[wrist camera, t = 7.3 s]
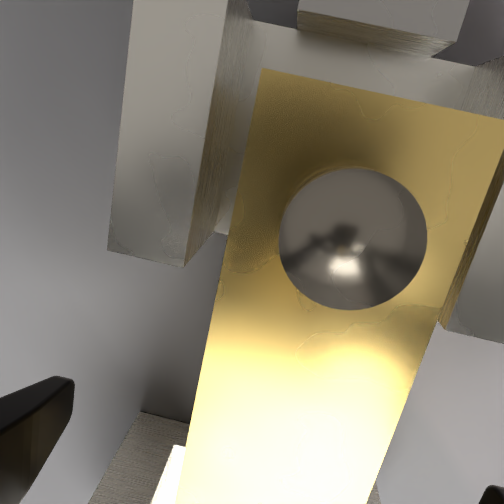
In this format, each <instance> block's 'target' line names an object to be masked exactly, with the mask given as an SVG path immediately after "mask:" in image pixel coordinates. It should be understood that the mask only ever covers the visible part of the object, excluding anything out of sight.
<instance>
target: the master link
mask: <svg viewBox="0 0 504 504" xmlns="http://www.w3.org/2000/svg"><path fill="white" fill-rule="evenodd" d="M503 150H504V120H502V119H497V118H493V117H488V116H484V115H479V114H474V113H470V112H465V111H460V110H456V109H451V108H447V107H442V106H437V105H433V104H428V103H423V102H419V101H414V100H410V99H405V98H400V97H396V96H391V95H386V94H382V93H377V92H372V91H368V90H363V89H359V88H354V87H349V86H345V85H340V84H335V83H331V82H326V81H322V80H317V79H312V78H308V77H303V76H298V75H294V74H289V73H284V72H280V71H275V70H271V69H266V68H262V69H261V74H260V79H259V84H258V89H257V94H256V99H255V104H254V109H253V114H252V119H251V124H250V129H249V134H248V139H247V144H246V149H245V154H244V159H243V164H242V169H241V174H240V179H239V184H238V189H237V194H236V199H235V204H234V209H233V214H232V219H231V224H230V229H229V234H228V238H227V243H226V248H225V253H224V258H223V263H222V268H221V273H220V278H219V283H218V288H217V293H216V298H215V303H214V308H213V313H212V318H211V323H210V328H209V333H208V338H207V343H206V348H205V353H204V358H203V363H202V368H201V373H200V378H199V383H198V388H197V393H196V398H195V403H194V408H193V413H192V418H191V423H190V428H189V433H188V438H187V443H186V448H185V453H184V458H183V463H182V468H181V473H180V478H179V483H178V488H177V493H176V498H175V503H174V504H366V502H367V500H368V497H369V494H370V492H371V489H372V487H373V484H374V482H375V479H376V476H377V474H378V471H379V469H380V466H381V464H382V461H383V458H384V456H385V453H386V451H387V448H388V446H389V443H390V440H391V438H392V435H393V433H394V430H395V428H396V425H397V422H398V420H399V417H400V415H401V412H402V410H403V407H404V404H405V402H406V399H407V397H408V394H409V392H410V389H411V386H412V384H413V381H414V379H415V376H416V373H417V371H418V368H419V366H420V363H421V361H422V358H423V355H424V353H425V350H426V348H427V345H428V343H429V340H430V337H431V335H432V332H433V330H434V327H435V325H436V322H437V319H438V317H439V314H440V312H441V309H442V307H443V304H444V301H445V299H446V296H447V294H448V291H449V289H450V286H451V283H452V281H453V278H454V276H455V273H456V271H457V268H458V265H459V263H460V260H461V258H462V255H463V252H464V250H465V247H466V245H467V242H468V240H469V237H470V234H471V232H472V229H473V227H474V224H475V222H476V219H477V216H478V214H479V211H480V209H481V206H482V204H483V201H484V198H485V196H486V193H487V191H488V188H489V186H490V183H491V180H492V178H493V175H494V173H495V170H496V168H497V165H498V162H499V160H500V157H501V155H502V152H503Z"/></svg>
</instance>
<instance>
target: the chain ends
mask: <svg viewBox="0 0 504 504" xmlns="http://www.w3.org/2000/svg"><path fill="white" fill-rule="evenodd" d="M469 2H470V0H299V4H298V8H297V29H293V28H288V27H283V26H279V25H274V24H269V23H264V22H260V21H255V20H253V18H252V15H251V12H250V9H249V7H248V4H247V1H246V0H133V10H132V19H131V29H130V38H129V47H128V57H127V66H126V76H125V85H124V95H123V104H122V113H121V123H120V132H119V142H118V151H117V160H116V170H115V179H114V189H113V198H112V208H111V217H110V226H109V236H108V245H107V250H109V251H113V252H117V253H121V254H126V255H130V256H134V257H138V258H143V259H147V260H151V261H155V262H160V263H164V264H168V265H172V266H176V267H181V268H183V267H184V266H185V265H186V264H187V263H188V262H189V260H190V259H191V258H192V257H193V256H194V254H195V253H196V252H197V251H198V250H199V249H200V247H201V246H202V245H203V244H204V243H205V242H206V240H207V239H208V238H209V237H210V236H211V234H212V233H213V232H217V233H221V234H226V235H228V234H229V229H230V224H231V219H232V214H233V209H234V204H235V199H236V194H237V189H238V184H239V179H240V174H241V169H242V164H243V159H244V154H245V149H246V144H247V139H248V134H249V129H250V124H251V119H252V114H253V109H254V104H255V99H256V94H257V89H258V84H259V79H260V74H261V69H262V68H266V69H271V70H275V71H280V72H284V73H289V74H294V75H298V76H303V77H308V78H312V79H317V80H322V81H326V82H331V83H335V84H340V85H345V86H349V87H354V88H359V89H363V90H368V91H372V92H377V93H382V94H386V95H391V96H396V97H400V98H405V99H410V100H414V101H419V102H423V103H428V104H433V105H437V106H442V107H447V108H451V109H456V110H460V111H465V112H470V113H474V114H479V115H484V116H488V117H493V118H497V119H502V120H504V56H502V57H499V58H497V59H494V60H492V61H489V62H486V63H484V64H481V65H478V66H476V67H474V66H469V65H465V64H460V63H455V62H450V61H446V60H441V59H436V58H431V56H433V55H435V54H437V53H438V52H440V51H442V50H443V49H445V48H447V47H449V46H450V45H452V44H454V43H455V42H457V38H458V35H459V32H460V29H461V26H462V23H463V20H464V17H465V14H466V11H467V8H468V5H469ZM437 320H438V321H439V323H440V324H441V325H442V327H443V328H444V329H445V330H447V331H452V332H456V333H460V334H464V335H469V336H473V337H477V338H481V339H486V340H490V341H494V342H498V343H502V344H504V150H503V152H502V155H501V157H500V160H499V162H498V165H497V168H496V170H495V173H494V175H493V178H492V180H491V183H490V186H489V188H488V191H487V193H486V196H485V198H484V201H483V204H482V206H481V209H480V211H479V214H478V216H477V219H476V222H475V224H474V227H473V229H472V232H471V234H470V237H469V240H468V242H467V245H466V247H465V250H464V252H463V255H462V258H461V260H460V263H459V265H458V268H457V271H456V273H455V276H454V278H453V281H452V283H451V286H450V289H449V291H448V294H447V296H446V299H445V301H444V304H443V307H442V309H441V312H440V314H439V317H438V319H437ZM189 428H190V424H187V423H183V422H179V421H175V420H171V419H167V418H163V417H159V416H155V415H151V414H147V413H143V412H139V414H138V415H137V417H136V419H135V421H134V423H133V424H132V426H131V428H130V430H129V431H128V433H127V435H126V437H125V438H124V440H123V442H122V444H121V446H120V447H119V449H118V451H117V453H116V454H115V456H114V458H113V460H112V462H111V463H110V465H109V467H108V469H107V470H106V472H105V474H104V476H103V477H102V479H101V481H100V483H99V485H98V486H97V488H96V490H95V492H94V493H93V495H92V497H91V499H90V501H89V502H88V504H174V503H175V498H176V493H177V488H178V483H179V478H180V473H181V468H182V463H183V458H184V453H185V448H186V443H187V438H188V433H189ZM366 504H381V502H380V498H379V494H378V489H377V485H376V481H375V482H374V484H373V487H372V489H371V492H370V494H369V497H368V500H367V502H366Z"/></svg>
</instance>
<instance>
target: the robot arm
mask: <svg viewBox="0 0 504 504" xmlns="http://www.w3.org/2000/svg"><path fill="white" fill-rule="evenodd" d="M74 389H75V384H74V381H73V380H72V379H69V378H65V377H61V376H53V377H50V378H48V379H45V380H43V381H40V382H38V383H35V384H33V385H30V386H28V387H26V388H23V389H21V390H18V391H16V392H13V393H11V394H8V395H6V396H3V397H1V398H0V504H19V503H20V502H21V501H22V499H23V498H24V496H25V495H26V493H27V492H28V490H29V489H30V487H31V486H32V484H33V482H34V481H35V479H36V477H37V476H38V474H39V472H40V470H41V469H42V467H43V465H44V464H45V462H46V460H47V458H48V457H49V455H50V453H51V452H52V450H53V448H54V446H55V445H56V443H57V441H58V440H59V438H60V436H61V434H62V433H63V431H64V429H65V428H66V426H67V424H68V422H69V420H70V418H71V415H72V411H73V400H74ZM479 504H504V487H500V486H496V485H490V486H488V487H487V488H486V490H485V492H484V494H483V496H482V498H481V500H480V502H479Z"/></svg>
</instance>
